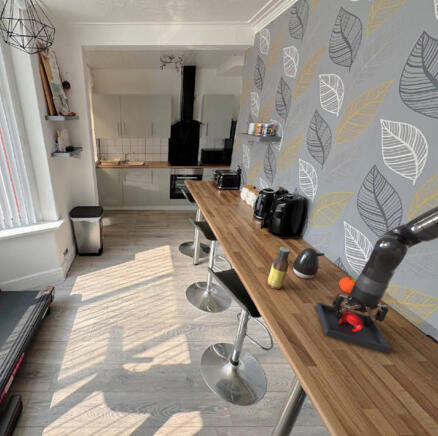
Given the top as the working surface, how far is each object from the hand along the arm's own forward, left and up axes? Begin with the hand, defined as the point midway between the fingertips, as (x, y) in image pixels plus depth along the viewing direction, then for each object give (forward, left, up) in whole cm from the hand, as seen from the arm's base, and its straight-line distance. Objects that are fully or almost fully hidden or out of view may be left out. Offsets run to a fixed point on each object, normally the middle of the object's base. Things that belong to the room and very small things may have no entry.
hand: (351, 322), depth 86 cm
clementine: (-7, -25, -3) cm, 26 cm away
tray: (0, 0, -3) cm, 3 cm away
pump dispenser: (+10, -30, -3) cm, 32 cm away
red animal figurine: (0, 0, -3) cm, 3 cm away
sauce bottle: (+24, -15, -3) cm, 29 cm away
